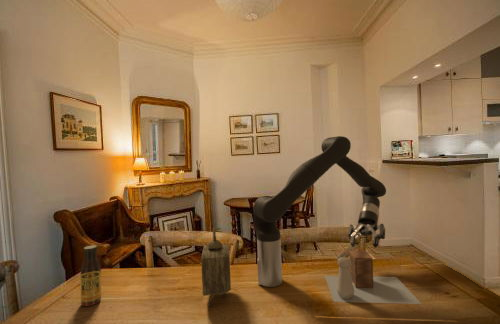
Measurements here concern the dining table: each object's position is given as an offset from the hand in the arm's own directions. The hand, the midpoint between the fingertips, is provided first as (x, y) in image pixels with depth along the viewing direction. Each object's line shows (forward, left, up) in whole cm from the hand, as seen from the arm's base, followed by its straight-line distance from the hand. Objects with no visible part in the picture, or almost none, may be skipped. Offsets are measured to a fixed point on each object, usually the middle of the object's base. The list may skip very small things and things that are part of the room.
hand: (363, 245), depth 101 cm
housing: (-3, -7, -12) cm, 14 cm away
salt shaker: (-11, -16, -12) cm, 23 cm away
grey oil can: (-55, -18, -12) cm, 59 cm away
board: (-2, -10, -12) cm, 16 cm away
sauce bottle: (-100, -23, -12) cm, 103 cm away
